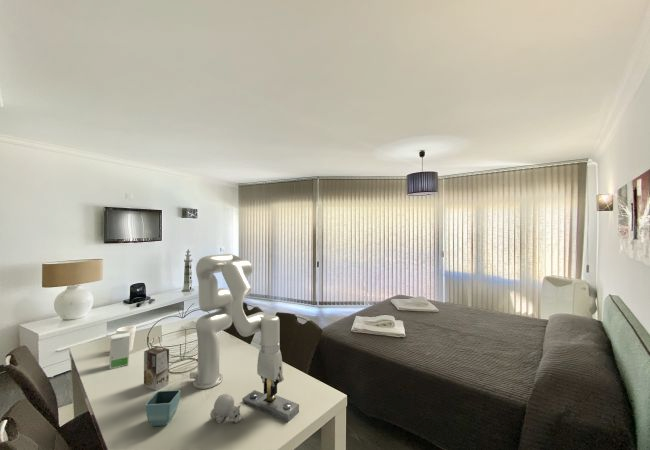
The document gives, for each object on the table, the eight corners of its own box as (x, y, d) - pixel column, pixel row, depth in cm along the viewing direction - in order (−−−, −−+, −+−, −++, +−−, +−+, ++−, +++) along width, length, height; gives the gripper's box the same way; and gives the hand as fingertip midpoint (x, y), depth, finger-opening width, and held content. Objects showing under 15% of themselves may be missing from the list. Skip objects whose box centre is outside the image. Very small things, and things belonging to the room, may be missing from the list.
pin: (270, 401, 108) (270, 376, 108) (265, 399, 109) (265, 374, 109) (275, 397, 110) (275, 372, 111) (270, 395, 112) (270, 370, 112)
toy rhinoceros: (230, 436, 97) (238, 416, 96) (206, 416, 101) (212, 397, 100) (243, 423, 104) (250, 404, 103) (219, 404, 108) (226, 386, 107)
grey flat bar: (242, 401, 113) (242, 393, 113) (254, 393, 119) (254, 385, 119) (287, 422, 100) (287, 412, 101) (299, 411, 106) (299, 402, 107)
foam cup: (137, 350, 163) (137, 328, 164) (118, 355, 156) (118, 332, 157) (132, 345, 169) (133, 324, 170) (114, 350, 162) (115, 328, 163)
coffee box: (169, 383, 126) (169, 348, 127) (155, 391, 120) (156, 354, 121) (156, 379, 130) (157, 345, 131) (142, 386, 124) (143, 350, 125)
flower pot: (157, 414, 105) (157, 390, 105) (180, 412, 106) (181, 389, 106) (143, 430, 96) (144, 404, 97) (169, 429, 97) (170, 403, 97)
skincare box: (109, 369, 139) (110, 339, 140) (109, 364, 145) (110, 335, 145) (129, 364, 145) (130, 335, 145) (128, 360, 150) (129, 331, 150)
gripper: (249, 346, 111) (248, 392, 111) (279, 355, 103) (279, 404, 102) (261, 340, 118) (262, 383, 117) (291, 348, 109) (292, 394, 109)
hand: (270, 393), depth 110 cm, fingers closed on pin, 3 cm apart
